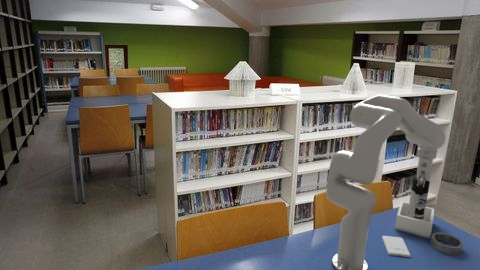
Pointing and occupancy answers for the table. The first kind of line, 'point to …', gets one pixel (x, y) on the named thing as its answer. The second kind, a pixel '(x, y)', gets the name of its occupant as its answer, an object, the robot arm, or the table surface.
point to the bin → (414, 221)
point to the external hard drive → (395, 246)
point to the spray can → (418, 201)
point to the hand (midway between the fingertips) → (419, 191)
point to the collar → (446, 248)
